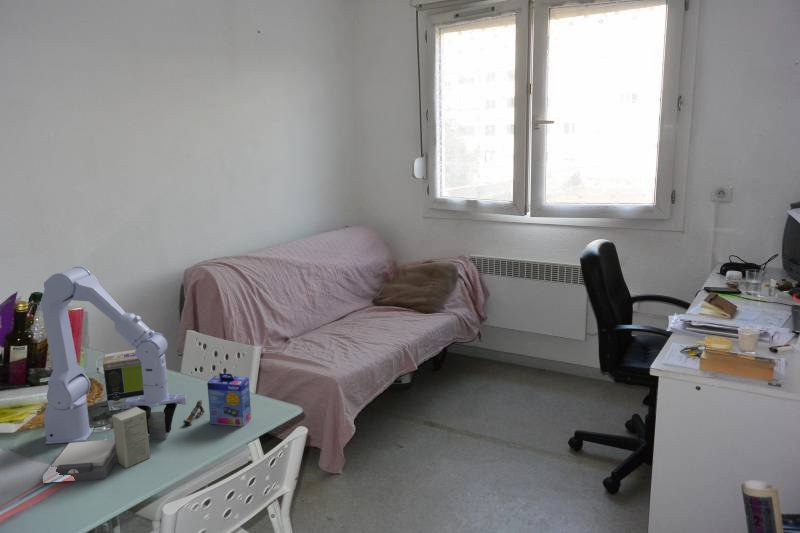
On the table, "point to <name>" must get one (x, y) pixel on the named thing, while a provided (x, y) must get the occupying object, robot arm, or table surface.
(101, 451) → the dial scale
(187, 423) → the wooden post with brackets
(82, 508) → the table surface
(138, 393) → the tea box
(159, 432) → the block
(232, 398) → the ink cartridge box
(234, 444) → the table surface
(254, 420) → the table surface
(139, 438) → the skincare box
